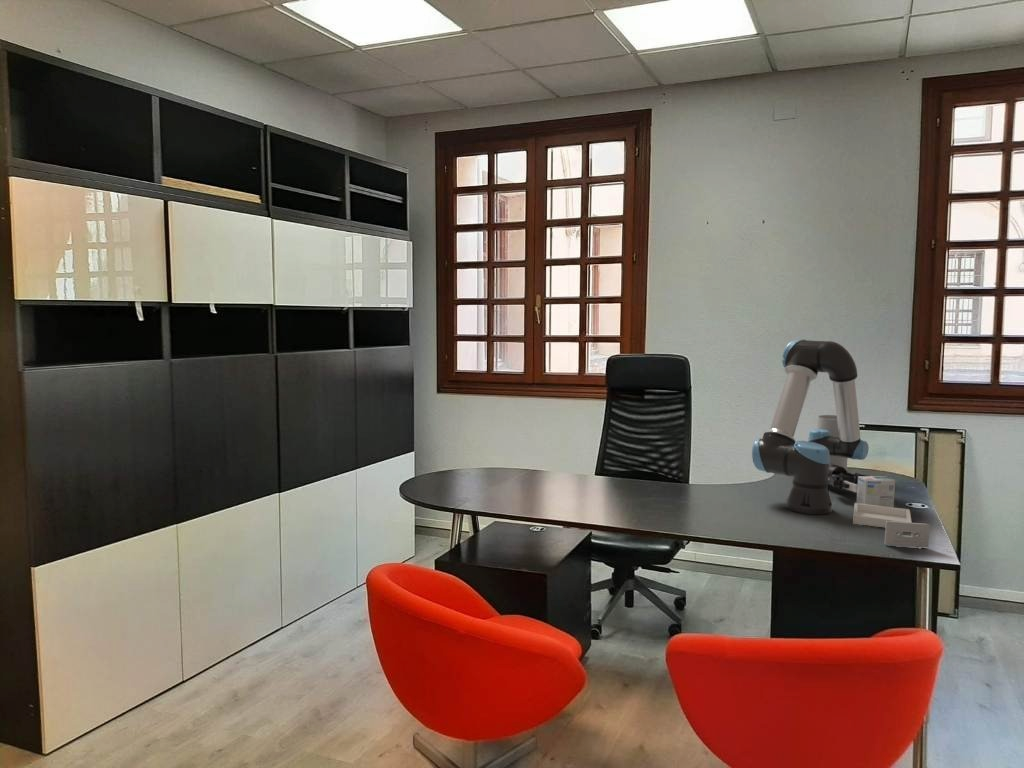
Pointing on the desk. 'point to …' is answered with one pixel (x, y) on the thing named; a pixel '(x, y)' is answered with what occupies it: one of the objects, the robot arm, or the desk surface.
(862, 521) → the holder tray
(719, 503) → the desk surface
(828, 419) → the cylinder vase
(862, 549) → the desk surface
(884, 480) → the light bulb box
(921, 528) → the cassette
